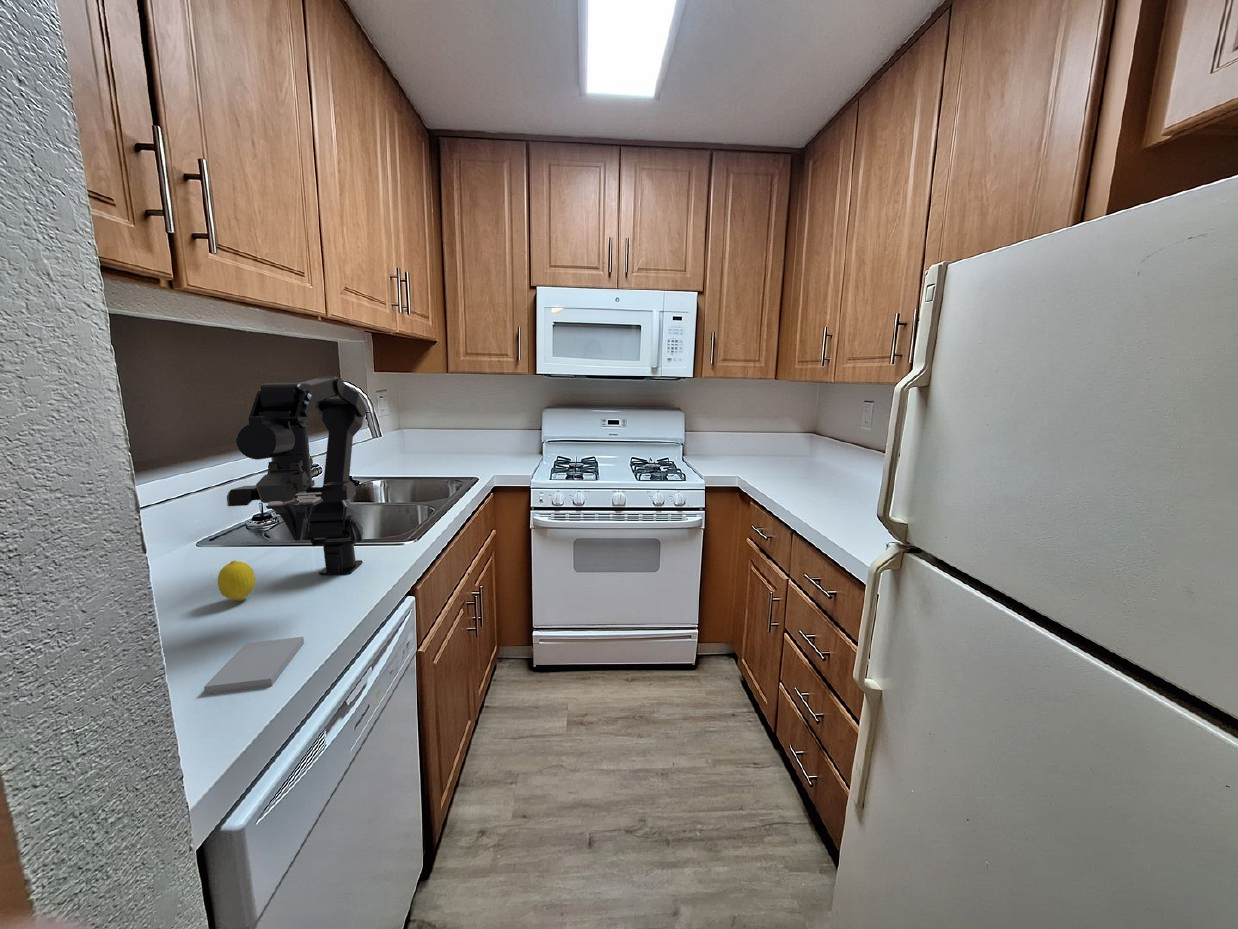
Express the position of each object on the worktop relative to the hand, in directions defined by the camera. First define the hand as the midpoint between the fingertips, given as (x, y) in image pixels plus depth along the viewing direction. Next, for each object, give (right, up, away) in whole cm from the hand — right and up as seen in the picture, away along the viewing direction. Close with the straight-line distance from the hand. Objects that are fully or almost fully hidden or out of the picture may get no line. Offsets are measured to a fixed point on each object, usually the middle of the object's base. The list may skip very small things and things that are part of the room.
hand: (298, 540), depth 90 cm
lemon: (-13, -12, +4) cm, 18 cm away
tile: (+4, -14, -12) cm, 19 cm away
